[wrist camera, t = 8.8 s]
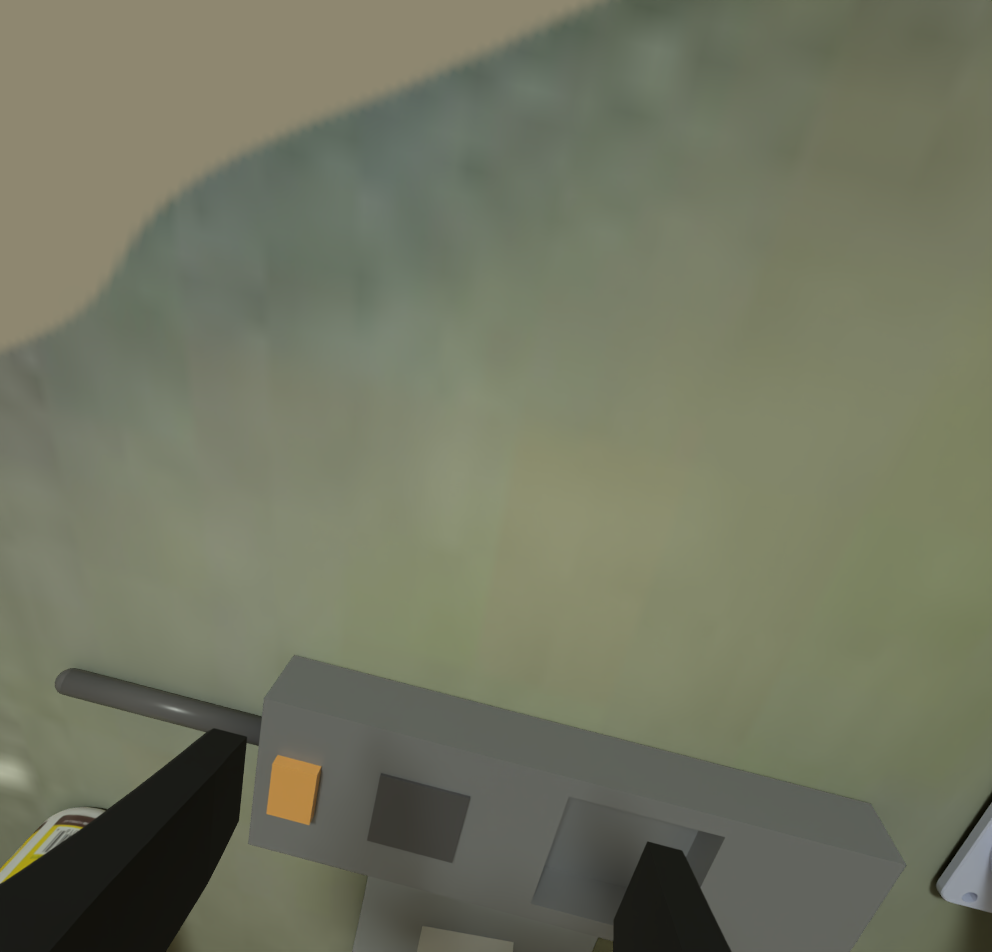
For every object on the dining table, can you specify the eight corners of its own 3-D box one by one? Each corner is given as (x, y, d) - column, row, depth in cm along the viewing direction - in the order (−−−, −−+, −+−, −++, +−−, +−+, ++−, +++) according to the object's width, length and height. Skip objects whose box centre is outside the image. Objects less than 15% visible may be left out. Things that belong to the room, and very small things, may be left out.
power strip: (870, 803, 22) (913, 876, 19) (796, 929, 24) (825, 1009, 22) (65, 596, 23) (0, 639, 20) (70, 737, 25) (12, 792, 22)
